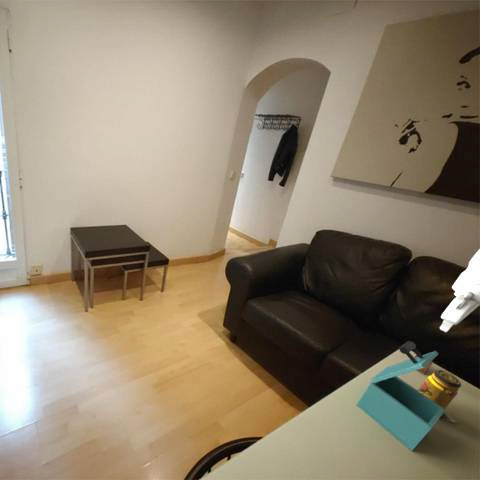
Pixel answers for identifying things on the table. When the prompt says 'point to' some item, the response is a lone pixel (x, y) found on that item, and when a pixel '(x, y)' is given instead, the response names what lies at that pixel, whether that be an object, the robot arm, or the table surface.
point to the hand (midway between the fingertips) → (447, 326)
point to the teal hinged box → (400, 410)
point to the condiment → (441, 390)
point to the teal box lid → (406, 363)
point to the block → (424, 367)
